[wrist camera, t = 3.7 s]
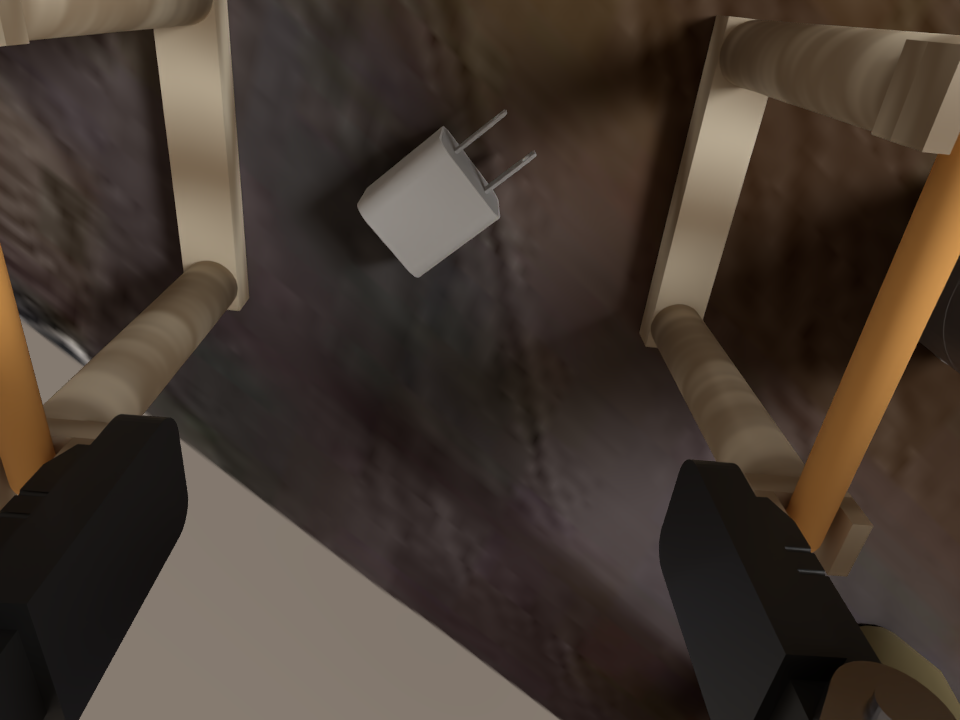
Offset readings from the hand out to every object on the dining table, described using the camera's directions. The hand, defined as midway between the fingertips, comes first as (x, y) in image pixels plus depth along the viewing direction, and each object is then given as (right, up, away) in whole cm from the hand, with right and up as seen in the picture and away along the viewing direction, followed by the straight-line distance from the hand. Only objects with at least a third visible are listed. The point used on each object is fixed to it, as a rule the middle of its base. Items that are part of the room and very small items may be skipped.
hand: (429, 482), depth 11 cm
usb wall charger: (0, +10, +19) cm, 22 cm away
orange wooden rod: (+11, +2, +6) cm, 13 cm away
